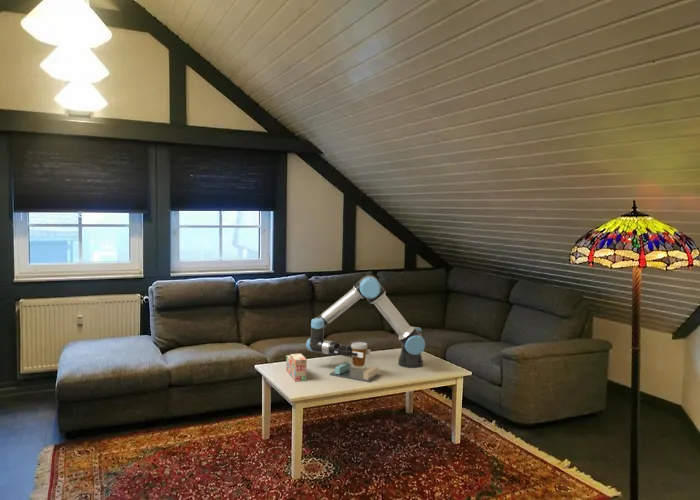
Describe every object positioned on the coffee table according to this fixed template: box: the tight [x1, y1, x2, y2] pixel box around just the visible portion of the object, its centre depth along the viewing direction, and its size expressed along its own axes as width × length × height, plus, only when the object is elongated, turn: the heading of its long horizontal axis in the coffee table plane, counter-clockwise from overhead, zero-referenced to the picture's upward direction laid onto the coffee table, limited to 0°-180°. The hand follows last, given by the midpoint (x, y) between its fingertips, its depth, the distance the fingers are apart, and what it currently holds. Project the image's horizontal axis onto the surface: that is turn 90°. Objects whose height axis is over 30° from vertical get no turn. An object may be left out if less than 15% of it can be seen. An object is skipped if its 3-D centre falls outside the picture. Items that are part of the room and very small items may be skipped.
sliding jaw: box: [334, 361, 351, 374], centre depth 321 cm, size 3×13×4 cm, turn 152°
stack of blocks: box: [285, 353, 308, 383], centre depth 314 cm, size 21×6×12 cm, turn 20°
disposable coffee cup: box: [350, 341, 368, 367], centre depth 315 cm, size 10×10×12 cm
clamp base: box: [329, 366, 381, 383], centre depth 317 cm, size 25×14×5 cm, turn 62°
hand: (366, 353), depth 313 cm, fingers closed on disposable coffee cup, 8 cm apart
